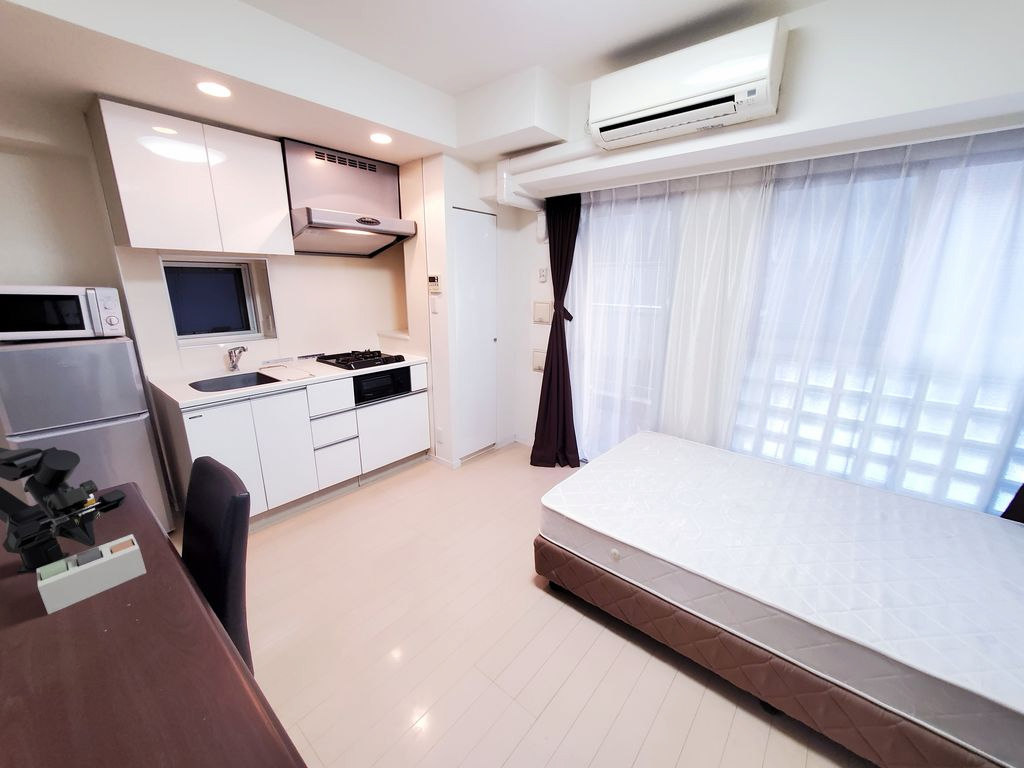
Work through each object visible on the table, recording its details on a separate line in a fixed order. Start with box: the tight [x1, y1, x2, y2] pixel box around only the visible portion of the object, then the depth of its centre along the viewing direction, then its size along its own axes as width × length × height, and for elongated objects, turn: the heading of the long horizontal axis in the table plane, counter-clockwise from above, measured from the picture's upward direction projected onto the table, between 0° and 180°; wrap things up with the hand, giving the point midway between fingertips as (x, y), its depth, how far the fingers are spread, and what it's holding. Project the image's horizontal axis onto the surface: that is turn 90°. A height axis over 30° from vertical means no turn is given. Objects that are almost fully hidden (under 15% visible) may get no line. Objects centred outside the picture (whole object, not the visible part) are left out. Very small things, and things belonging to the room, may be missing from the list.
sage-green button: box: [40, 558, 68, 580], centre depth 88 cm, size 4×4×2 cm
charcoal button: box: [75, 546, 102, 566], centre depth 92 cm, size 4×4×2 cm
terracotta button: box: [111, 540, 133, 553], centre depth 96 cm, size 4×4×2 cm
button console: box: [36, 533, 147, 615], centre depth 93 cm, size 9×16×7 cm, turn 141°
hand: (93, 545), depth 92 cm, fingers closed
